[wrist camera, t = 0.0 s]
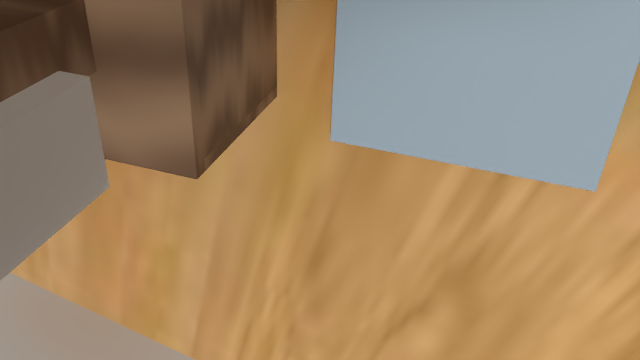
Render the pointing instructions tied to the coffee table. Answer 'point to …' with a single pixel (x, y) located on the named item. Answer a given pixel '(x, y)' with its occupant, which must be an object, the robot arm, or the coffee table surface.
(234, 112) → the cover
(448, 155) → the mat
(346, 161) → the coffee table surface
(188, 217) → the coffee table surface
